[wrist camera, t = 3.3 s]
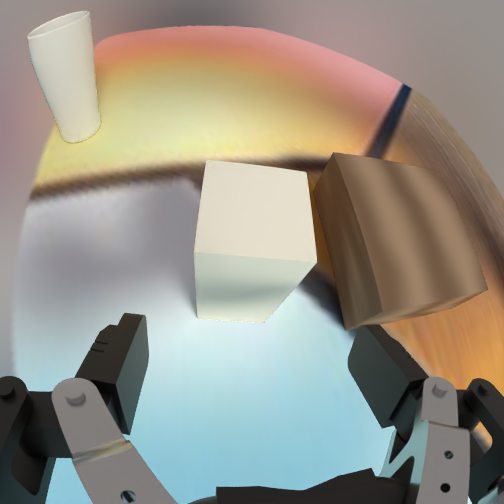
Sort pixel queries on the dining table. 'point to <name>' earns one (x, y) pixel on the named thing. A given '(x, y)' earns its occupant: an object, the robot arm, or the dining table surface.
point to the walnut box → (394, 241)
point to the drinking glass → (67, 73)
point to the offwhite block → (251, 240)
